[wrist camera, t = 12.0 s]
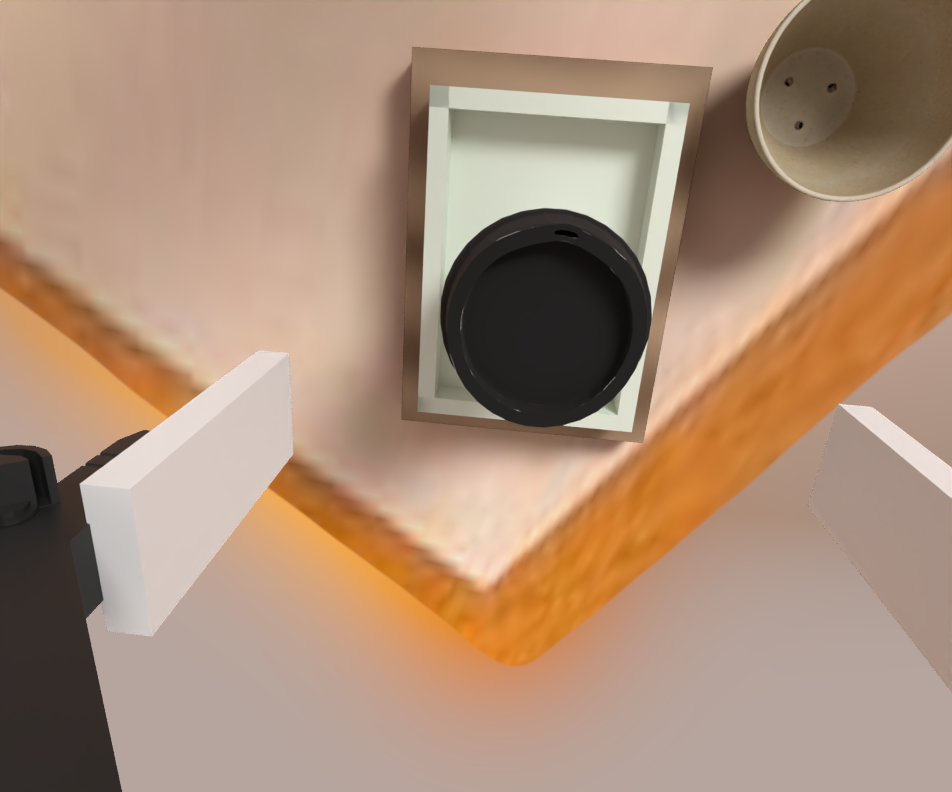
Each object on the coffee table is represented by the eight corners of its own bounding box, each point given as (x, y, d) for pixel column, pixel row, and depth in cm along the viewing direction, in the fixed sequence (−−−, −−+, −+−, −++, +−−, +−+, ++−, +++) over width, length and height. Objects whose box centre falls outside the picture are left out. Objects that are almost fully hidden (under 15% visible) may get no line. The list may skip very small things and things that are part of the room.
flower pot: (708, 198, 38) (746, 209, 31) (718, 7, 35) (763, -27, 28) (884, 186, 37) (961, 194, 30) (913, -13, 34) (1008, -53, 27)
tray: (438, 89, 35) (430, 85, 32) (677, 106, 34) (690, 103, 31) (424, 393, 41) (417, 411, 39) (624, 412, 41) (631, 432, 38)
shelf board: (419, 53, 36) (412, 47, 34) (701, 72, 36) (712, 67, 33) (408, 405, 45) (401, 419, 42) (637, 427, 44) (643, 443, 42)
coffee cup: (629, 201, 35) (693, 236, 21) (594, 345, 38) (631, 458, 24) (480, 176, 35) (447, 194, 21) (458, 321, 38) (417, 420, 25)
